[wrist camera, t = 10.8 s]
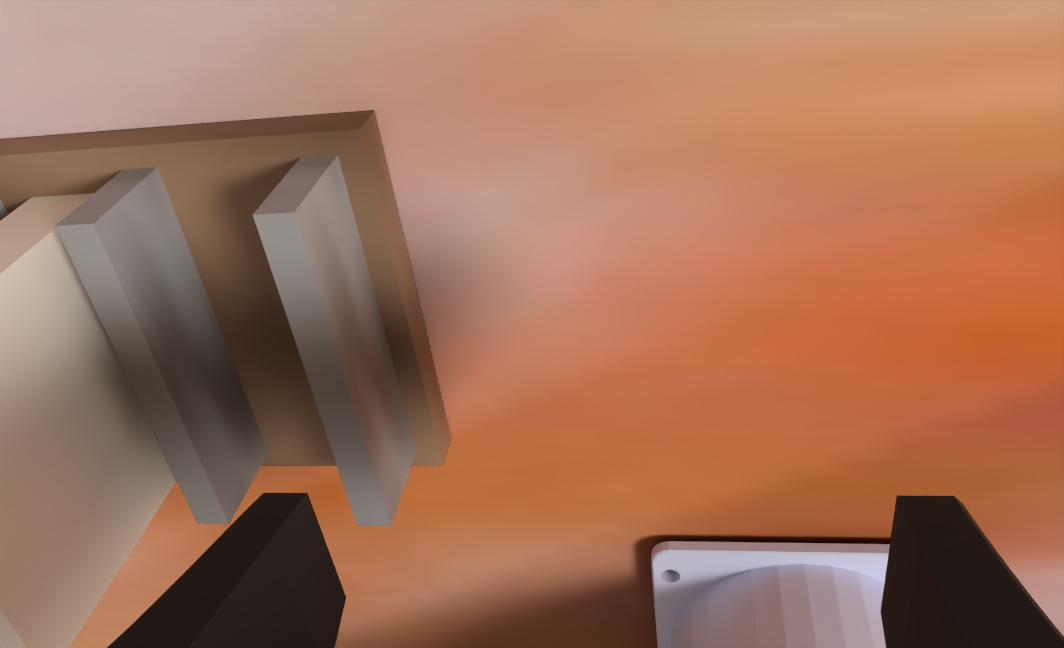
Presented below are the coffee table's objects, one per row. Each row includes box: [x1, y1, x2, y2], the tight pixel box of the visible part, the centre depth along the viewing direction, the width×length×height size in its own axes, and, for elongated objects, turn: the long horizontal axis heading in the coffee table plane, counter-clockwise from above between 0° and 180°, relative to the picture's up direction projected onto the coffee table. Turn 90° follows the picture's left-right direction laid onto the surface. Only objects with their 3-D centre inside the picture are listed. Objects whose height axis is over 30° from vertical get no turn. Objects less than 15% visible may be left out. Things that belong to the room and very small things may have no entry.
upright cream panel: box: [0, 193, 177, 648], centre depth 18 cm, size 7×2×7 cm, turn 7°
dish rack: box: [0, 110, 451, 526], centre depth 21 cm, size 9×14×4 cm, turn 97°
